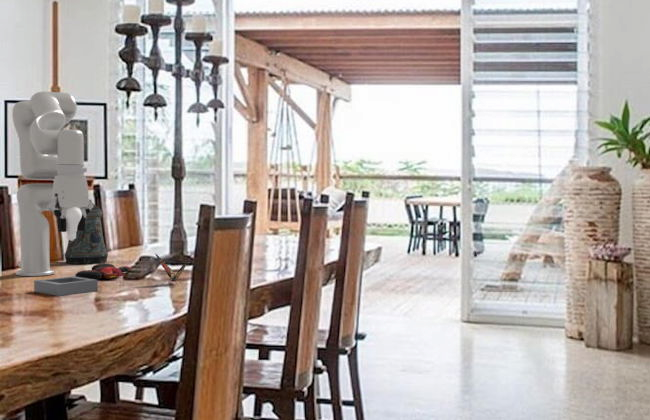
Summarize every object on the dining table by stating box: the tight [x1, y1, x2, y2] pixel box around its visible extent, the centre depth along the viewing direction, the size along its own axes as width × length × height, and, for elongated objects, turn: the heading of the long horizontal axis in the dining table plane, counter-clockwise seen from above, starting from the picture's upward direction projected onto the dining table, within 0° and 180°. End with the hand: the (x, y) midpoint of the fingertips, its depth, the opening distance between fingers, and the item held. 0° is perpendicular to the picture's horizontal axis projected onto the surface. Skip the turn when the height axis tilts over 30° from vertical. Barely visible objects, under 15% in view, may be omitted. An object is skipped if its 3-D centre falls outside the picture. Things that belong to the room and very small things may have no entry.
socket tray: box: [33, 275, 99, 297], centre depth 226 cm, size 13×13×3 cm
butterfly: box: [155, 253, 193, 286], centre depth 241 cm, size 12×10×10 cm
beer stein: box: [64, 199, 109, 265], centre depth 303 cm, size 16×19×25 cm
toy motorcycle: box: [75, 263, 132, 281], centre depth 259 cm, size 25×5×16 cm
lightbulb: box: [64, 207, 82, 241], centre depth 228 cm, size 6×6×11 cm
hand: (71, 230), depth 228 cm, fingers closed on lightbulb, 5 cm apart
